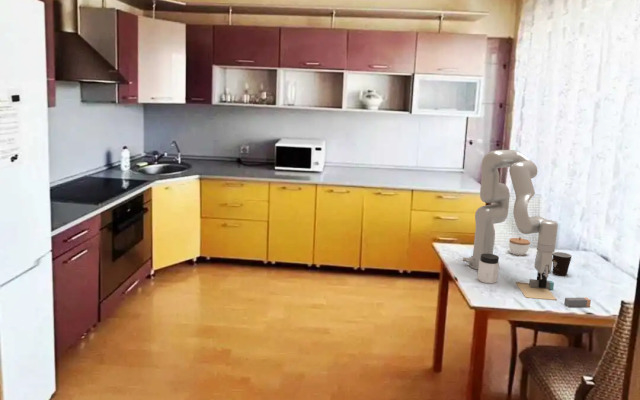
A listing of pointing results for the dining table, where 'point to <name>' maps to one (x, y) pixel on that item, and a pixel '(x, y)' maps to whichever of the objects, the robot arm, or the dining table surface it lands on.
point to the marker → (535, 284)
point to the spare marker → (577, 302)
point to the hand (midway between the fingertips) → (541, 285)
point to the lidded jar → (519, 246)
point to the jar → (488, 268)
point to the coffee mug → (561, 263)
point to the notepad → (535, 292)
